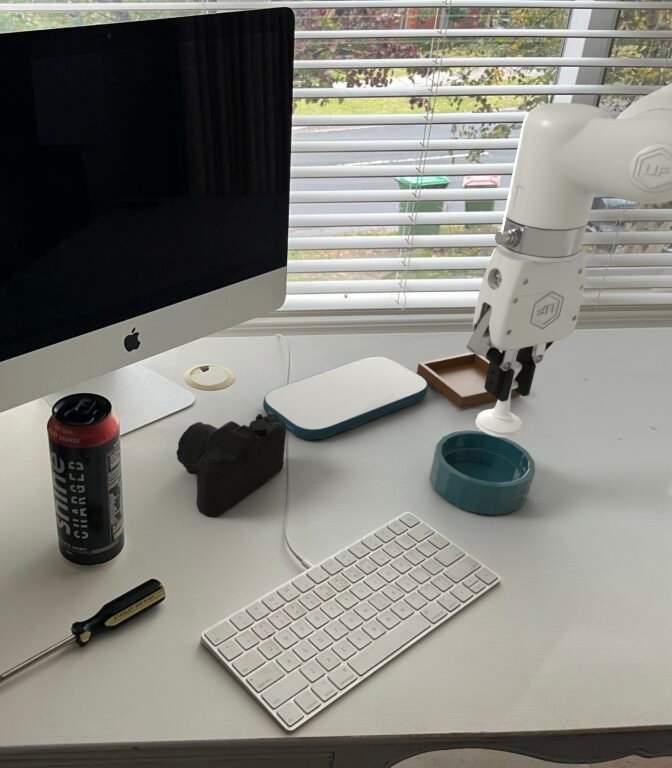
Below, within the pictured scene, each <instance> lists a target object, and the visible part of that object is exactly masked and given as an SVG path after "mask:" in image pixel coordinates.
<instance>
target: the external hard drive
mask: <svg viewBox="0 0 672 768" xmlns="http://www.w3.org/2000/svg"><path fill="white" fill-rule="evenodd" d="M428 387H429V384H428V383H427V382H426V380H425V379H424V378H423V377H421V376H420V375H418V374H417V372H415V371H413V370H411V369H409V368H407V367H406V366H404V365H402V364H401V363H399V362H397V361H395V360H393V359H391V358H388V357H385V356H376V355H375V356H368V357H363V358H360V359H357V360H354V361H351V362H348V363H345V364H342V365H340V366H337V367H334V368H331V369H328V370H325V371H322V372H319V373H317V374H313V375H310V376H307V377H305V378H302V379H299V380H296V381H294V382H291V383H288V384H285V385H282V386H278V387H277V388H274V389H272V390H270V391H269V392H267V393H266V394H265V396H263V397H264V398H263V401H262V407H263V411H264V412H265V413H266V414H267V415H269V414H274V415H277V416H278V418H279V419H281V420H282V421H284V422H285V424H286V431H288V432H290V433H291V434H292V435H294V436H296V437H298V438H300V439H304V440H320V439H321V440H322V439H325V438H328V437H331V436H333V435H336V434H338V433H339V434H340V433H341V432H344V431H346V430H349V429H352V428H355V427H356V426H359V425H362V424H364V423H367V422H369V421H372V420H374V419H377V418H379V417H382V416H384V415H386V414H389V413H393V412H394V411H397V410H400V409H402V408H405V407H408V406H409V405H413V404H415V403H417V402H419V401H421V400H422V399H424V397H426V395H427V392H428Z"/></svg>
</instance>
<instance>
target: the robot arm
mask: <svg viewBox="0 0 672 768" xmlns="http://www.w3.org/2000/svg"><path fill="white" fill-rule="evenodd" d="M511 176H512V177H511V181H510V186H509V192H508V196H507V201H506V206H505V211H504V217H503V222H502V226H501V230H499V231H496V233H495V235H494V241H495V243H496V244H497V245H498V246H496V247H494V249H493V252H492V253H491V256H490V259H489V262H488V263H487V267H486V269H485V272H484V274H483V278H482V281H481V285H480V287H479V291H478V296H477V298H476V299H477V300H476V304H475V308H474V313H473V320H472V332H473V333H472V335H471V336H470V338H469V340H468V343H467V345H466V349H467V350H468V351H470V352H473V353H474V354H476V355H480V356H483V357H484V358H486V359H487V360H488V361H490V362H489V367H488V372H487V377H486V381H485V386H484V387H485V390H486V391H487V392H489V393H490V394H491V395H493V396H494V397H496V398H497V399H498V400H500V401H501V402H503V401H507V400H508V398H509V394H510V390H511V385H512V381H513V376H514V370H513V369H512V368H510V367H511V365H512V361H513V357H514V353H515V350H516V349H518V352H517V357H516V361H517V362H519V363H520V364H521V365H522V369H521V370H520V372H519V373H518V374H517V376H516V378H515V379H514V380H516V381H517V382H518V387H517V388H516V389H512V390H514V391H515V392H517V393H518V394H520V396H522V397H527V396H529V395H530V392H531V389H532V384H533V380H534V376H535V372H536V368H537V364H540V363H541V362H542V361H543V359H544V357H545V353H546V352H547V350H548V349H549V348H551V346H552V345H553V344H554V342H557V341H560V340H563V339H566V338H567V337H569V336H571V335H572V334H573V333H574V331H575V330H576V329H575V328H576V325H577V322H578V318H579V314H580V309H581V305H582V300H583V294H584V290H585V289H584V288H585V283H586V282H585V281H586V272H587V250H586V248H585V246H583V242H584V238H585V235H586V231H587V227H588V222H589V219H590V215H591V211H592V206H593V203H594V198H595V195H596V194H599V195H603V196H606V197H607V196H608V197H611V198H615V199H618V200H623V201H626V202H631V203H637V204H644V205H646V204H647V205H656V204H662V203H663V204H664V203H667V202H671V201H672V82H671V83H669V84H666V85H665V86H662V87H661V88H659V89H656V90H655V91H652V92H650V93H648V94H647V95H645V96H643V97H641V98H639V99H638V100H636V101H634V102H632V103H631V104H630V105H629V106H628V107H626V108H625V109H623V110H622V111H621V112H620V113H619V114H618V116H617V117H616V118H611V116H610V114H609V113H608V112H607V111H606V110H604V109H602V108H600V107H598V106H595V105H591V104H590V105H589V104H585V103H575V102H551V103H545V104H540V105H538V106H535V107H534V108H532V109H531V110H530V111H529V112H527V114H526V116H525V118H524V119H523V122H522V126H521V130H520V135H519V140H518V145H517V150H516V156H515V159H514V165H513V170H512V175H511Z"/></svg>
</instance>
